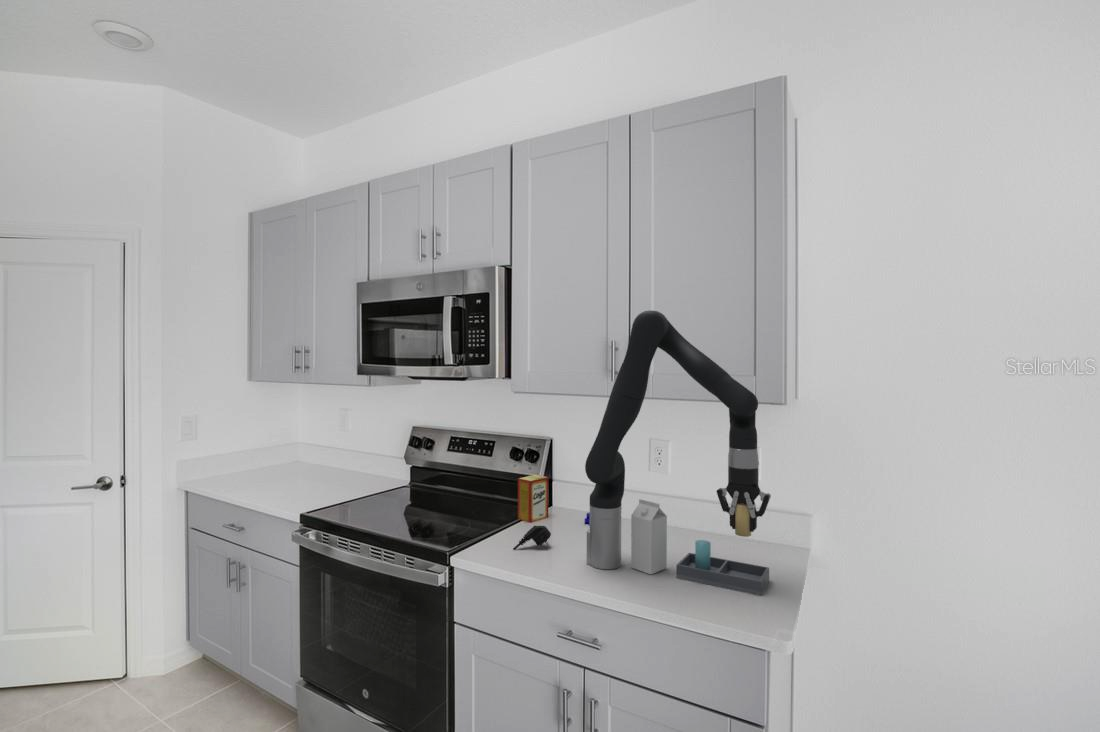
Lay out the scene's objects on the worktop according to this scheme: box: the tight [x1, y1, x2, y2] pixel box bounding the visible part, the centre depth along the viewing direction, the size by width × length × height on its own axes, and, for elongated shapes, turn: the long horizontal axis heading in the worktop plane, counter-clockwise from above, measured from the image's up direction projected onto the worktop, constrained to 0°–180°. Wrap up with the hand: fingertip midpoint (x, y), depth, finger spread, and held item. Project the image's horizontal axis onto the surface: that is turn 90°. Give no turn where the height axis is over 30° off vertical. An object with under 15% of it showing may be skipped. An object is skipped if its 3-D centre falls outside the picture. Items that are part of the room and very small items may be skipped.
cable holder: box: [584, 511, 590, 526], centre depth 196 cm, size 8×4×4 cm, turn 59°
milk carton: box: [630, 499, 668, 575], centre depth 155 cm, size 7×7×19 cm
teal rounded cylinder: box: [694, 539, 712, 571], centre depth 150 cm, size 4×4×8 cm
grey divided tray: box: [675, 552, 770, 597], centre depth 147 cm, size 22×11×4 cm, turn 59°
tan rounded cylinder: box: [734, 503, 752, 538], centre depth 144 cm, size 4×4×8 cm
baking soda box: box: [517, 474, 549, 524], centre depth 203 cm, size 10×6×16 cm
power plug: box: [512, 525, 552, 551], centre depth 171 cm, size 6×8×12 cm
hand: (743, 529), depth 144 cm, fingers closed on tan rounded cylinder, 4 cm apart
